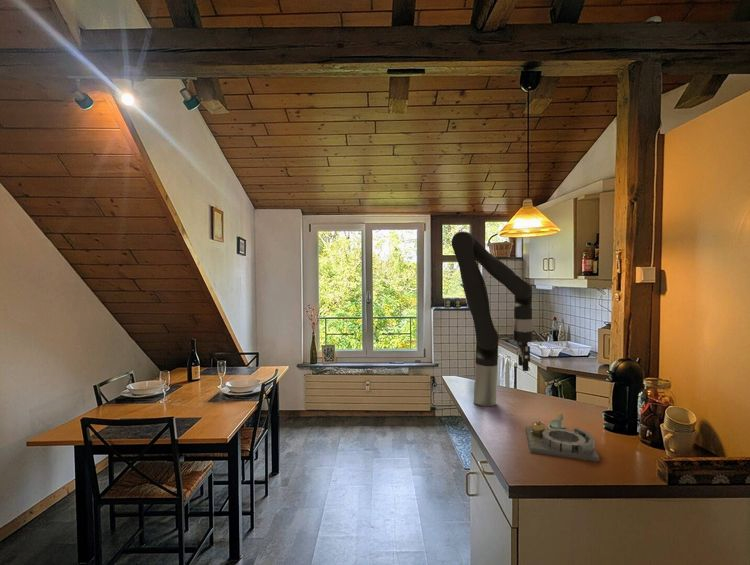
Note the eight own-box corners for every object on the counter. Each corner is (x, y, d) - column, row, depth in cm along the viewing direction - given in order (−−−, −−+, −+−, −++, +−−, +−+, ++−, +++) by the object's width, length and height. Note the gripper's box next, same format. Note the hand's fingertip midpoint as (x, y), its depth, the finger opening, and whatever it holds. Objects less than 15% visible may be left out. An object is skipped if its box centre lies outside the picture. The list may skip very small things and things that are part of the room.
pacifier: (551, 433, 148) (568, 434, 148) (551, 416, 148) (568, 416, 147) (544, 425, 156) (560, 425, 155) (544, 409, 155) (561, 409, 155)
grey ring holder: (530, 452, 132) (530, 435, 132) (525, 430, 150) (526, 415, 150) (599, 462, 127) (600, 445, 126) (586, 438, 144) (587, 422, 144)
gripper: (510, 326, 178) (510, 363, 178) (516, 332, 164) (517, 372, 164) (528, 326, 177) (529, 364, 177) (536, 332, 162) (536, 372, 163)
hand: (523, 368), depth 171 cm, fingers open, 8 cm apart
